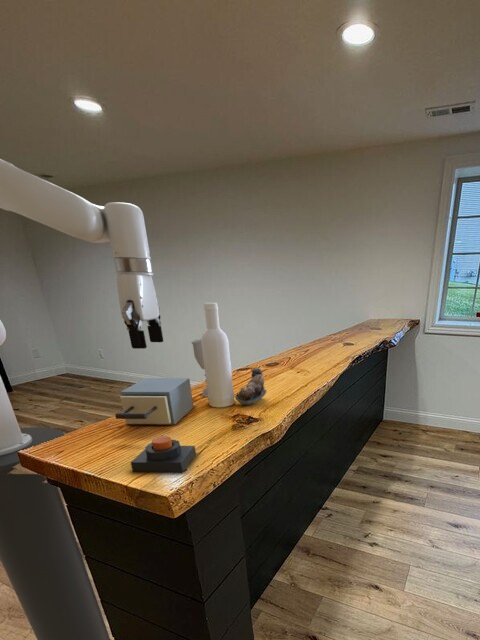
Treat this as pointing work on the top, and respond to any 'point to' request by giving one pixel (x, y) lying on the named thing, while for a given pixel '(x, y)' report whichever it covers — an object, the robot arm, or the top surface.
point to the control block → (164, 458)
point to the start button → (162, 443)
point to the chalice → (199, 359)
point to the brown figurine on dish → (252, 389)
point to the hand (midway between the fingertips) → (148, 345)
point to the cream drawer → (145, 409)
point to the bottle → (216, 360)
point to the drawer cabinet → (172, 387)
